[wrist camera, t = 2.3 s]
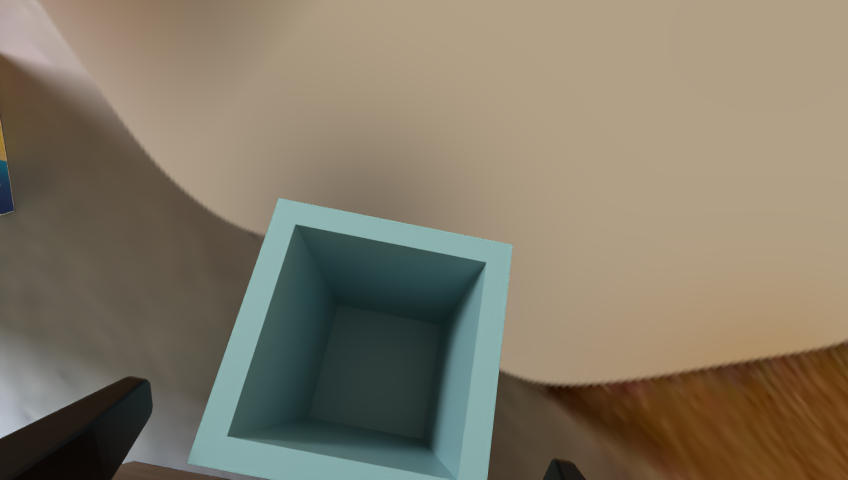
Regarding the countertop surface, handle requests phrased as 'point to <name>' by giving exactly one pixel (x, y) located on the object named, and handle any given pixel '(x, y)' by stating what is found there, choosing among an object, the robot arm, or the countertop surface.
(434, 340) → the teal square cup
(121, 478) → the wooden tray
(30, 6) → the countertop surface
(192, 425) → the countertop surface
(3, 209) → the beverage box
